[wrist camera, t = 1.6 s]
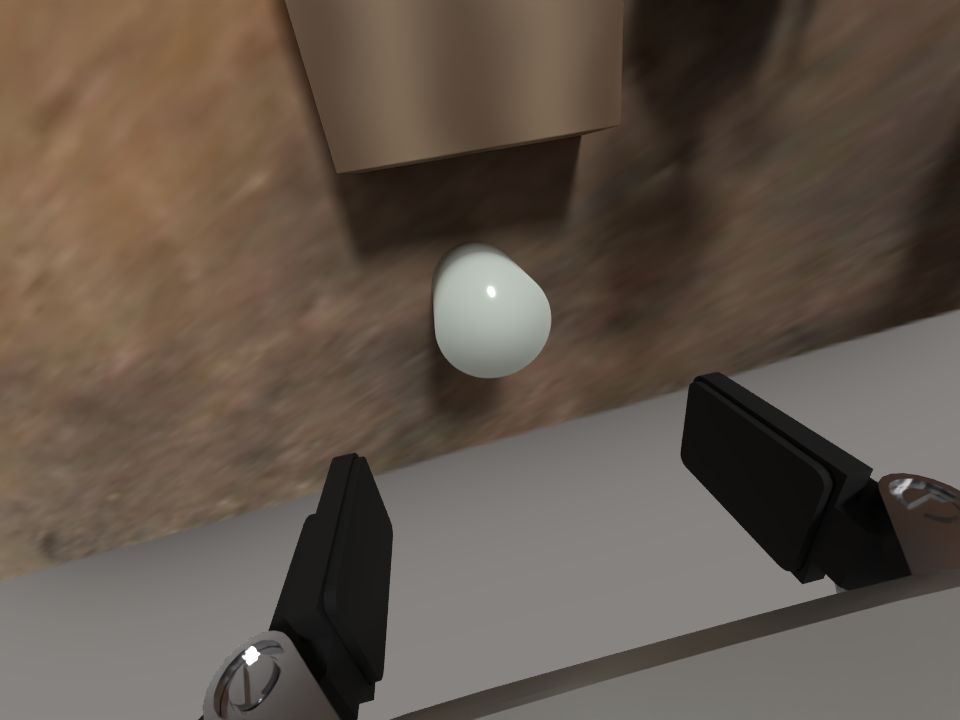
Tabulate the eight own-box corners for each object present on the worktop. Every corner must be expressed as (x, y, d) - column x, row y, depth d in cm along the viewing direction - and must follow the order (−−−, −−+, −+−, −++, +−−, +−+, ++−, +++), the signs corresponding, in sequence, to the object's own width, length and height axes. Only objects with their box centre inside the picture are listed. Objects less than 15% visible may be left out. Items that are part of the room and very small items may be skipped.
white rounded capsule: (511, 234, 24) (547, 256, 17) (520, 317, 27) (554, 366, 20) (423, 250, 24) (422, 280, 17) (441, 332, 27) (447, 387, 20)
